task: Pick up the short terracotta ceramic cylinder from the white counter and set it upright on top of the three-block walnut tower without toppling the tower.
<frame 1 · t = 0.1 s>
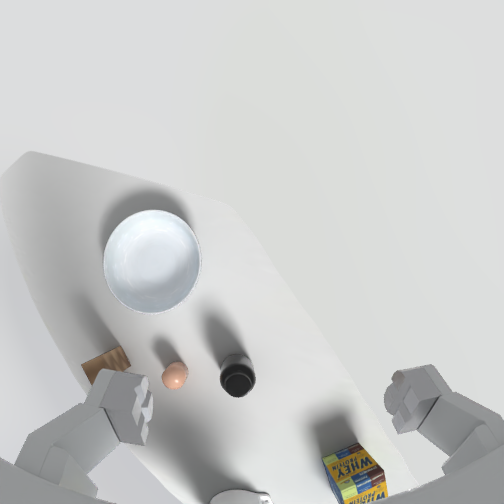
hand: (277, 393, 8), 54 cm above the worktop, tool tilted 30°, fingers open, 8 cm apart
block middle: (111, 363, 55), point 4 cm above the worktop, touching block bottom, block top
protein box: (345, 469, 58), on the worktop
cylinder: (178, 371, 59), on the worktop
supplement bottle: (237, 368, 61), on the worktop
serving bowl: (157, 263, 62), on the worktop
block bottom: (117, 359, 59), on the worktop, touching block middle
block top: (103, 367, 51), point 8 cm above the worktop, touching block middle
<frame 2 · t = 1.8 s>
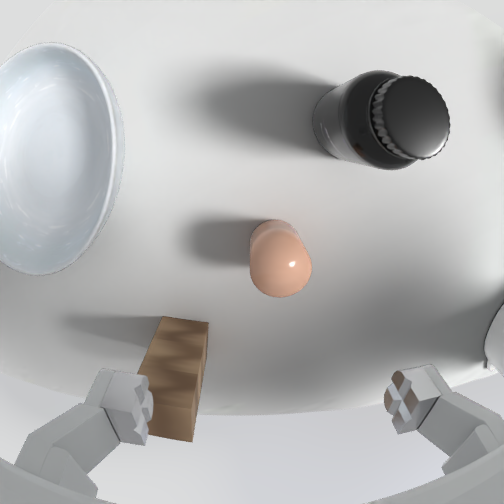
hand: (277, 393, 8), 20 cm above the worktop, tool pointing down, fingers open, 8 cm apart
block middle: (178, 361, 27), point 4 cm above the worktop, touching block bottom, block top
cylinder: (274, 243, 28), on the worktop
supplement bottle: (347, 125, 24), on the worktop
serving bowl: (58, 154, 24), on the worktop
block bottom: (185, 337, 31), on the worktop, touching block middle
block top: (170, 388, 24), point 8 cm above the worktop, touching block middle
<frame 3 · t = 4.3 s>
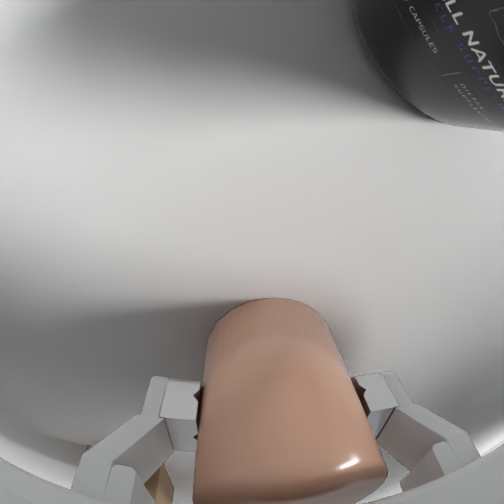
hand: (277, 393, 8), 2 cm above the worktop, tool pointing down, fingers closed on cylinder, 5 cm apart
cylinder: (269, 351, 10), on the worktop, touching gripper
supplement bottle: (431, 39, 7), on the worktop
block bottom: (132, 469, 14), on the worktop, touching block middle
when the fingers open (15 cm above the worktop, at t = 9.2 s): cylinder drops 1 cm, resting on block top.
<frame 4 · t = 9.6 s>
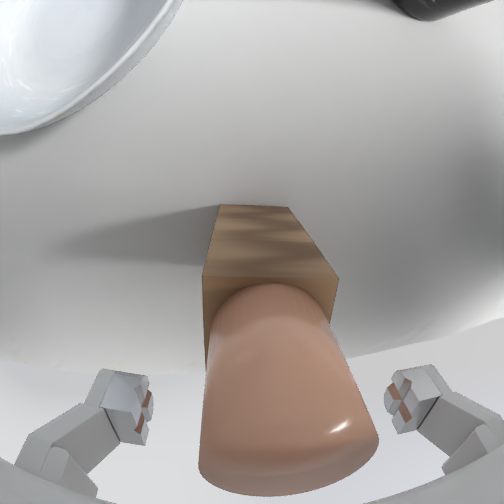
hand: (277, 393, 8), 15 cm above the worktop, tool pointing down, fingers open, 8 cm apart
block middle: (255, 257, 19), point 4 cm above the worktop, touching block bottom, block top
cylinder: (268, 333, 11), point 12 cm above the worktop, touching block top
serving bowl: (83, 17, 15), on the worktop
block bottom: (252, 237, 23), on the worktop, touching block middle
block top: (260, 286, 15), point 8 cm above the worktop, touching block middle, cylinder
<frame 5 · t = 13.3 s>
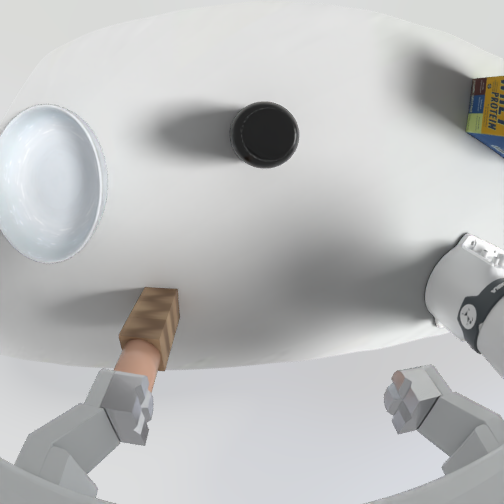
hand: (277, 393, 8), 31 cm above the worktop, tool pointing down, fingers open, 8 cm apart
block middle: (156, 317, 39), point 4 cm above the worktop, touching block bottom, block top
protein box: (494, 123, 34), on the worktop
cylinder: (142, 354, 31), point 12 cm above the worktop, touching block top
supplement bottle: (258, 135, 35), on the worktop
serving bowl: (61, 177, 35), on the worktop
block bottom: (162, 302, 43), on the worktop, touching block middle
block top: (149, 334, 35), point 8 cm above the worktop, touching block middle, cylinder
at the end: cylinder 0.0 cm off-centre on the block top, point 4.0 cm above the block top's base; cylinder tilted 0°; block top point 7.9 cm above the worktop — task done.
